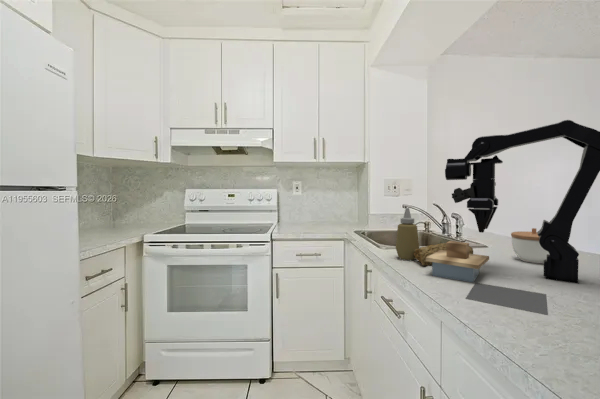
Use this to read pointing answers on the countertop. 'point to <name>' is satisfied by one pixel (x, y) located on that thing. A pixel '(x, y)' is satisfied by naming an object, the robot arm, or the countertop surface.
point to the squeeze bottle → (407, 237)
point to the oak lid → (458, 256)
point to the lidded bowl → (528, 247)
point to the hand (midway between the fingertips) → (483, 230)
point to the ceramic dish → (454, 272)
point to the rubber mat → (509, 298)
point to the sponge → (431, 252)
